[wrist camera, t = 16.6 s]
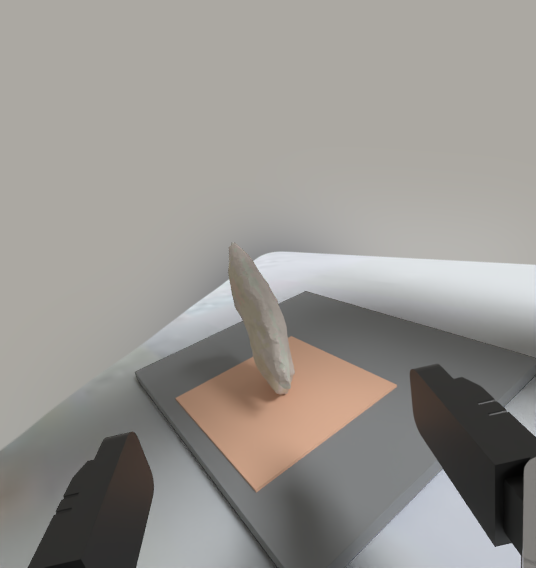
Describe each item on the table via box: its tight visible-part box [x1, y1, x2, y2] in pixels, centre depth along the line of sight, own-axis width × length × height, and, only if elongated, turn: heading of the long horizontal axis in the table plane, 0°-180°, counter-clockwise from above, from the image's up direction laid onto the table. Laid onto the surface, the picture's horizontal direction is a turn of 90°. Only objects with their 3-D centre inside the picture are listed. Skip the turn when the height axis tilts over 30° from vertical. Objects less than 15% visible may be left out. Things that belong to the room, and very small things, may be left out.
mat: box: [135, 291, 536, 568], centre depth 26 cm, size 21×18×1 cm
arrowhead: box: [228, 243, 295, 395], centre depth 22 cm, size 8×3×10 cm, turn 15°
